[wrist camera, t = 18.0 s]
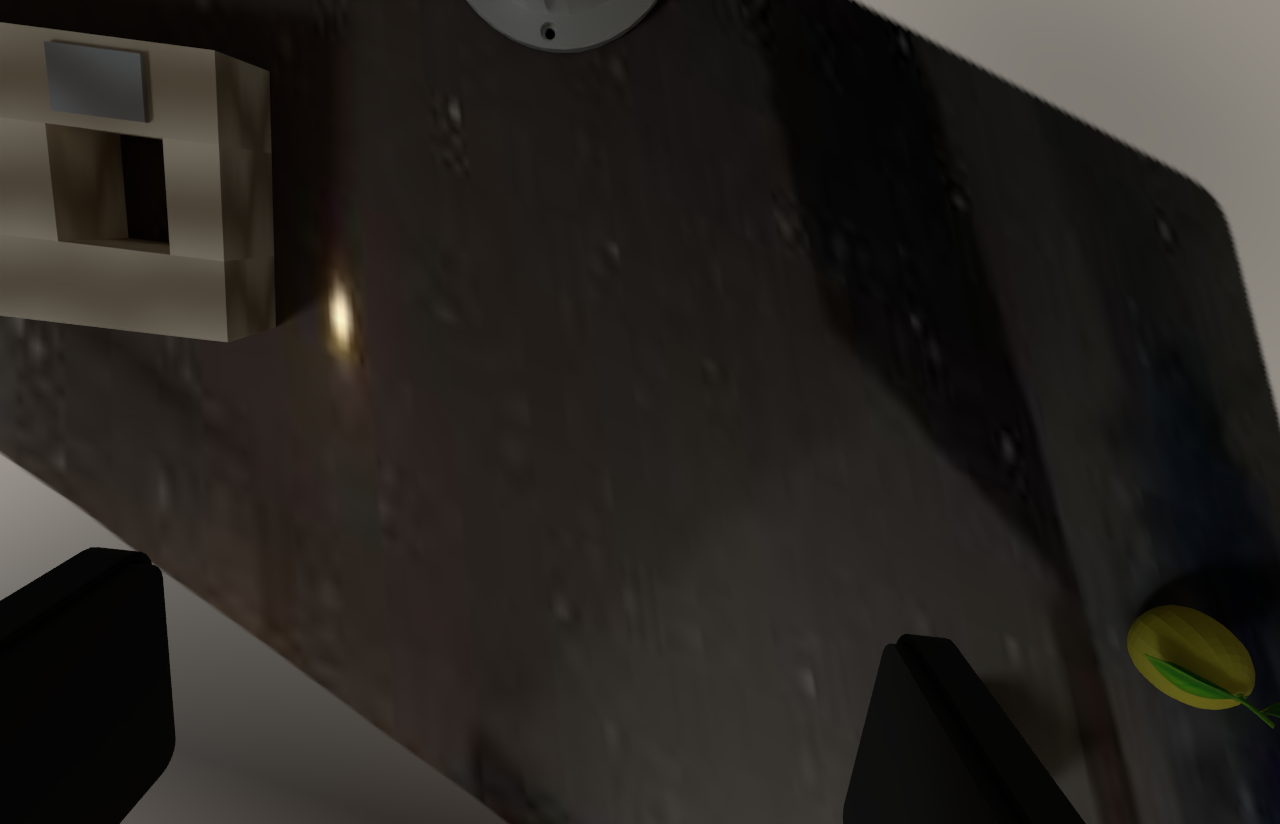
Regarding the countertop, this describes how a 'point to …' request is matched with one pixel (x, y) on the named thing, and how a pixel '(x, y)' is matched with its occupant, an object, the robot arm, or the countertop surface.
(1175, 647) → the lemon
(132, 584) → the robot arm
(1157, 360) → the countertop surface
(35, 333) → the countertop surface
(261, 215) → the socket block
